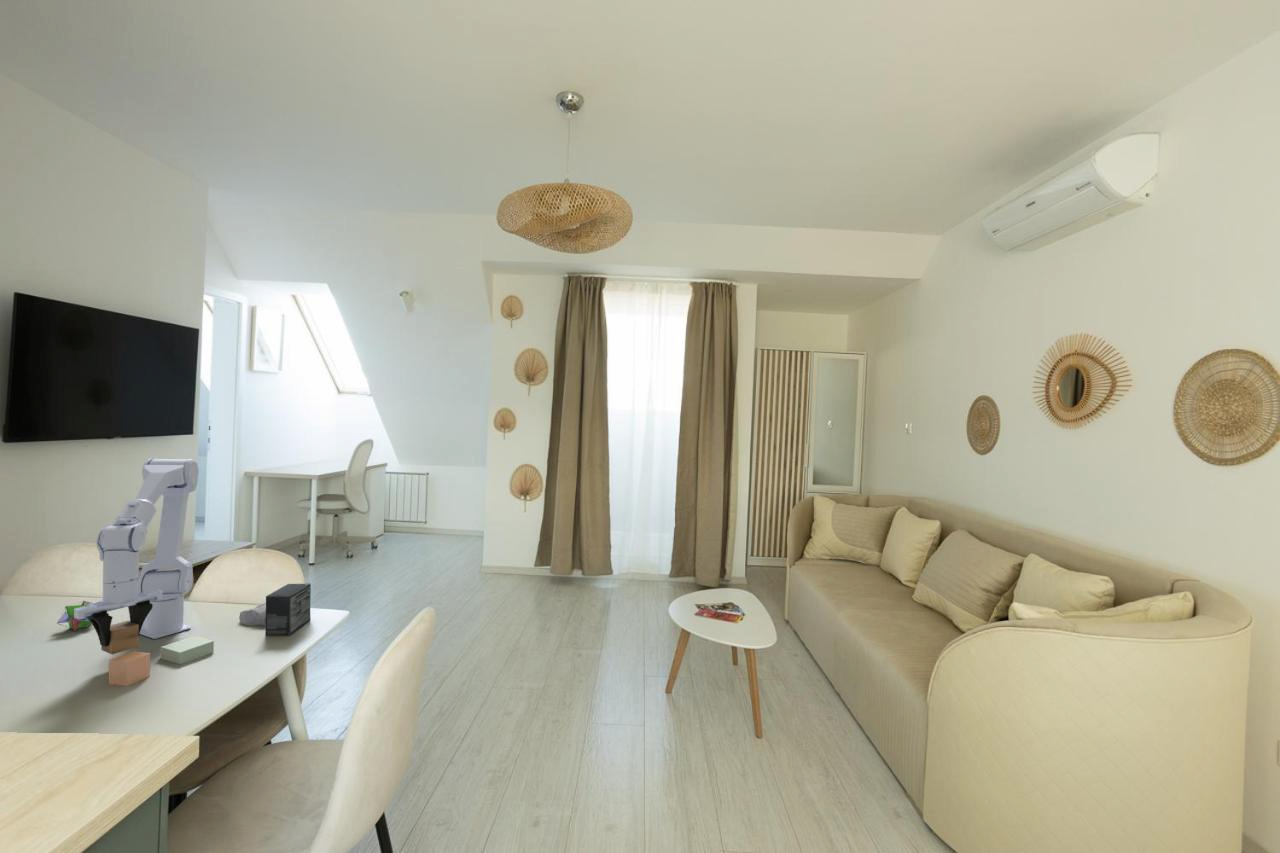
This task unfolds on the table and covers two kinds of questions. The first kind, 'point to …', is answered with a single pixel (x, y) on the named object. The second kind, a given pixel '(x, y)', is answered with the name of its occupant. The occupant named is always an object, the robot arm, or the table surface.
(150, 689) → the table surface
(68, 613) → the geometric puzzle
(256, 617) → the stone block
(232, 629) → the table surface
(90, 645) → the table surface
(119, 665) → the terracotta block
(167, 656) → the base block
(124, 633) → the walnut block
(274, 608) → the small box
